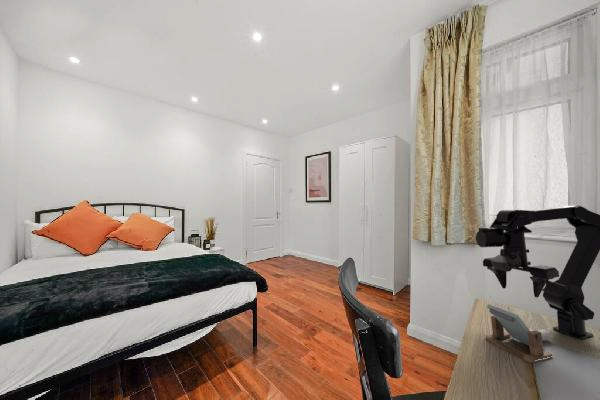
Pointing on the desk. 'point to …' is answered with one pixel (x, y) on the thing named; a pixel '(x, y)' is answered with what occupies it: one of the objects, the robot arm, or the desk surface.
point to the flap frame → (534, 345)
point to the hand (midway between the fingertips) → (519, 292)
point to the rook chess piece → (544, 334)
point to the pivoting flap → (511, 324)
